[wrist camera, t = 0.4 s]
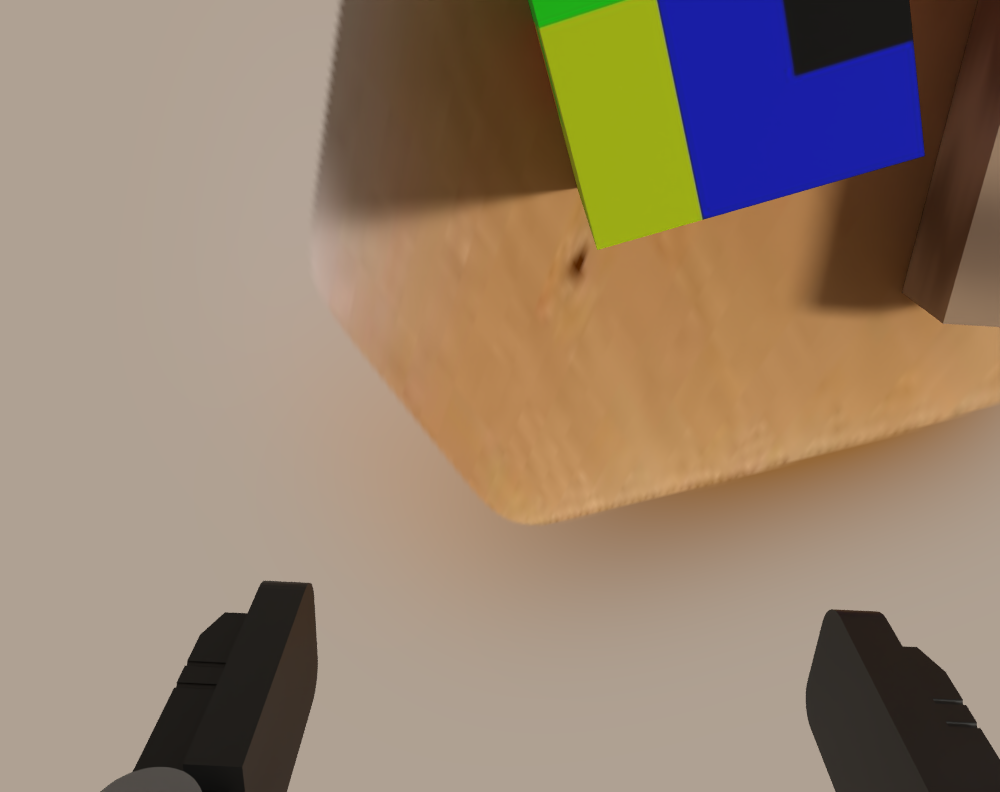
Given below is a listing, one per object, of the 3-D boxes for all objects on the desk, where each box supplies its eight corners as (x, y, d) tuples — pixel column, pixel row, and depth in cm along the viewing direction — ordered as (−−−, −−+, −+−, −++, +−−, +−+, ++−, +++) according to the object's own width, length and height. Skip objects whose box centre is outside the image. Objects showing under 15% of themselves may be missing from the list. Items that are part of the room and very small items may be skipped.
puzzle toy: (818, 115, 35) (924, 155, 26) (577, 187, 36) (597, 250, 27) (777, -165, 31) (885, -234, 22) (508, -73, 32) (505, -102, 23)
